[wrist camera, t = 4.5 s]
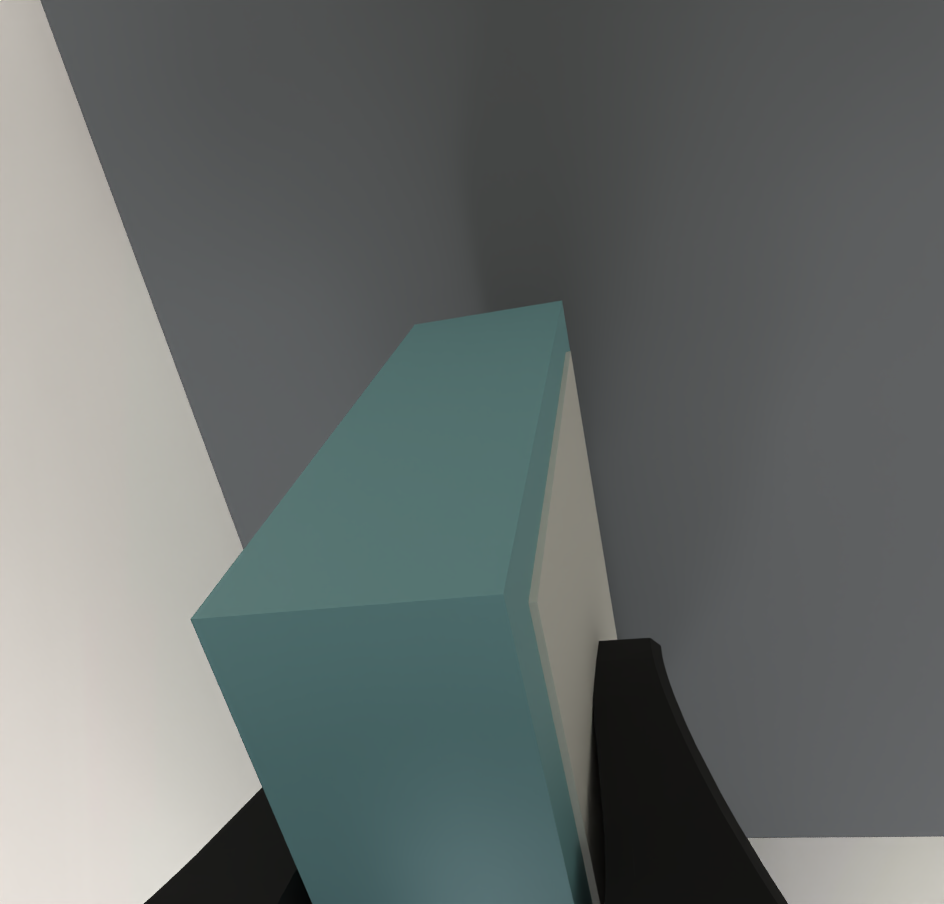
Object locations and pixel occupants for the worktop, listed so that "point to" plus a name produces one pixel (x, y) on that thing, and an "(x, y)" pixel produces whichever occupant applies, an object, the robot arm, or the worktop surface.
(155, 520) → the worktop surface
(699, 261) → the mat
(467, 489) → the block
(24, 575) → the worktop surface
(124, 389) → the worktop surface
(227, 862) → the robot arm
